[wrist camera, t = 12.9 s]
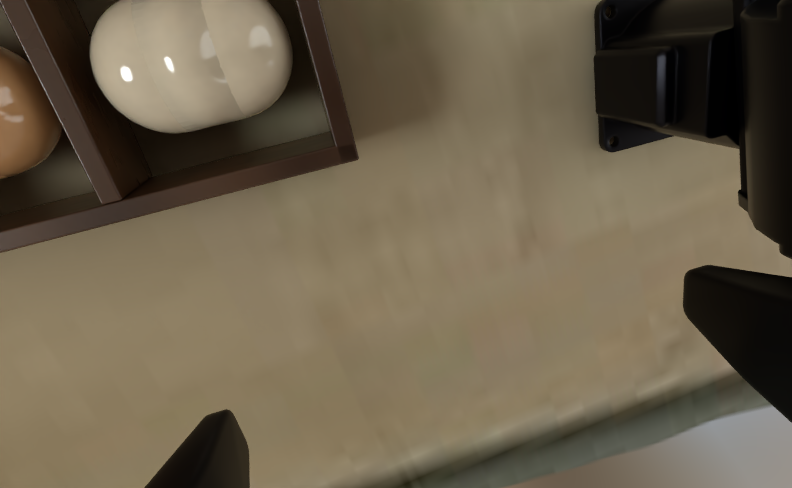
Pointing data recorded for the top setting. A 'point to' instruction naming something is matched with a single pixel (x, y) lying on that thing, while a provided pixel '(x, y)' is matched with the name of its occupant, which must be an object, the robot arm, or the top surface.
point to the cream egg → (190, 61)
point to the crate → (116, 144)
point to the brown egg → (24, 117)
